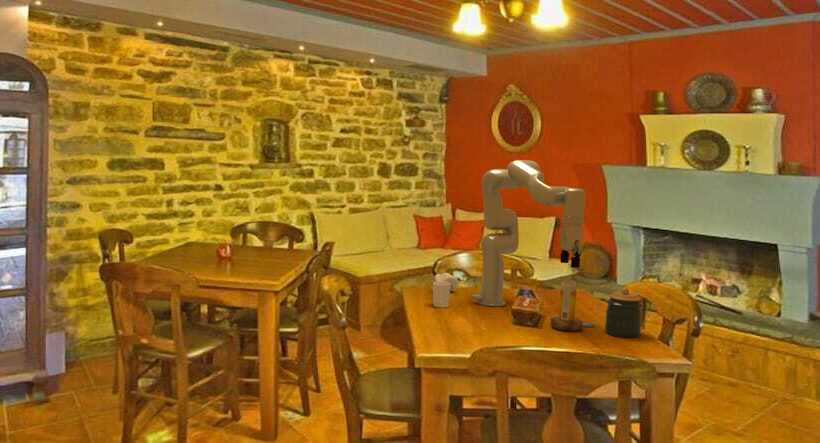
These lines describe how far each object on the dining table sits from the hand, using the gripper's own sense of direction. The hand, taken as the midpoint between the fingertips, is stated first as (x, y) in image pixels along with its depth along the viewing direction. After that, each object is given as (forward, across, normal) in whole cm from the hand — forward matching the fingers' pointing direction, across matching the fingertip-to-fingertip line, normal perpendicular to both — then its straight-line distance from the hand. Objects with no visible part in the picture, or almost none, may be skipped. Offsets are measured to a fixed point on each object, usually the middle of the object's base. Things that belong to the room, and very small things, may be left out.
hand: (569, 265), depth 231 cm
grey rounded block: (+26, -62, -35) cm, 76 cm away
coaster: (+25, -3, +10) cm, 27 cm away
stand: (+25, +1, 0) cm, 25 cm away
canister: (+25, +9, +19) cm, 32 cm away
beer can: (+22, 0, 0) cm, 22 cm away
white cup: (+26, -35, -42) cm, 60 cm away
